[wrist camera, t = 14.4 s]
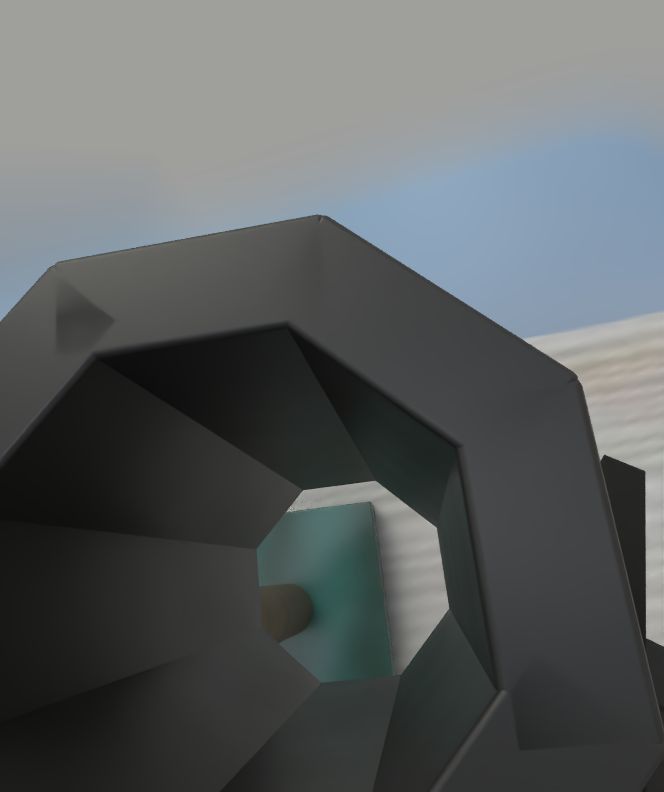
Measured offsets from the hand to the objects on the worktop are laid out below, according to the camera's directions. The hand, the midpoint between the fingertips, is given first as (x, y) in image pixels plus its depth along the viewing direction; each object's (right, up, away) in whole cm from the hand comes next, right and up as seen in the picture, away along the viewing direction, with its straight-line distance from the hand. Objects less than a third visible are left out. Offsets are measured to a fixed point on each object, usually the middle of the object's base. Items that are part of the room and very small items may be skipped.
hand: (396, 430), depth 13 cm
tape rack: (-3, -11, +20) cm, 23 cm away
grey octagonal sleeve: (-1, -4, +3) cm, 5 cm away
